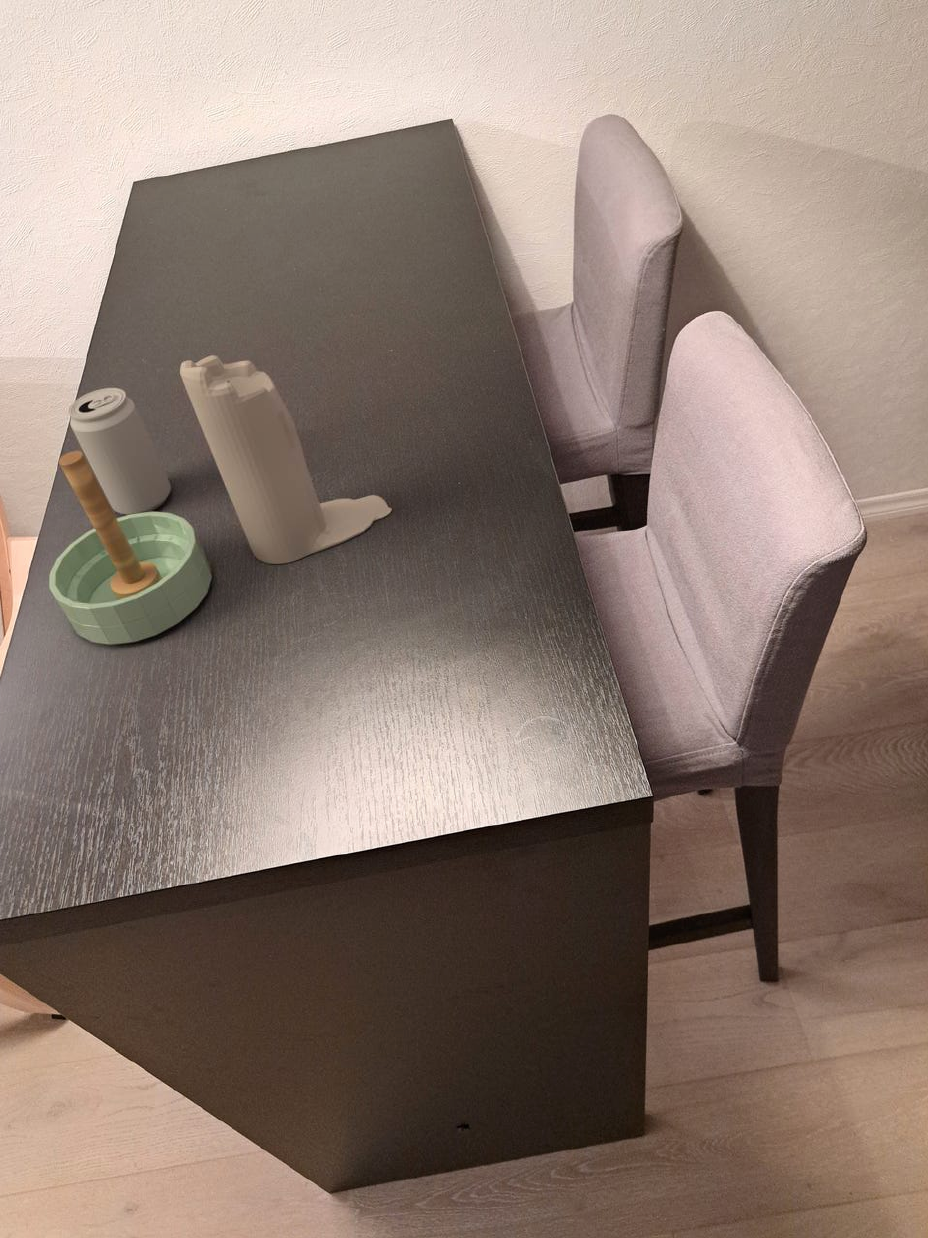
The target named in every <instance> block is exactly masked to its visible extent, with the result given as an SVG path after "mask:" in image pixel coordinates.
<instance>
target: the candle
mask: <svg viewBox="0 0 928 1238" xmlns="http://www.w3.org/2000/svg"><path fill="white" fill-rule="evenodd" d="M179 374H180V378H181V380H182V383H183V385H184V387H185V390H186V392H187V395H188V397H189V400H190V403H191V405H192V407H193V409H194V412H195V415H196V418H197V419H198V420H197V421H198V422H199V425H200V427H201V429H202V432H203V435H204V437H205V439H206V442H207V444H208V446H209V449H210V452H211V454H212V456H213V459H214V461H215V464H216V466H217V470H218V471H219V474H220V476H221V478H222V481H223V483H224V486H225V488H226V491H227V493H228V496H229V498H230V501H231V503H232V505H233V508H234V510H235V513H236V516H237V518H238V520H239V522H240V523H239V524H240V525H241V527H242V530H243V532H244V535H245V538H246V539H247V543H248V544H249V547H250V550H251V552H252V554H253V557H255V558H256V559H257V560H259V561H260V562H262V563H266V564H271V565H281V564H289V563H292V562H295V561H298V560H300V559H304V558H305V557H308V556H309V555H310V556H311V555H312V554H315V553H318V552H321V551H323V550H326V549H328V548H331V547H334V546H336V545H340V544H341V543H344V542H346V541H348V540H350V539H352V538H354V537H357V536H358V535H361V534H363V533H365V532H366V531H367V530H368V529H369V528H370V527H371V526H372V525H373V523H374V521H378V520H380V519H383V518H384V517H387V516H388V515H390V513H391V512H392V507H389V506H388V504H387V502H386V501H385V499H383V498H382V497H380V496H378V495H375V494H371V495H367V496H364V497H360V498H357V499H352V498H337V499H333V500H329V501H325V502H321V503H320V502H319V498H318V495H317V492H316V488H315V486H314V483H313V480H312V477H311V474H310V472H309V469H308V465H307V463H306V462H307V461H306V459H305V454H304V449H303V447H302V444H301V440H300V437H299V434H298V431H297V428H296V426H295V423H294V420H293V418H292V415H291V414H290V411H289V410H288V408H287V406H286V404H285V403H284V400H283V399H282V397H281V395H280V394H279V393H280V392H278V389H277V387H276V385H275V383H274V381H273V380H272V378H271V377H270V376H269V375H268V374H267V373H266V372H264V371H260V370H257V368H256V366H255V364H254V363H252V361H250V360H240V361H236V362H232V363H223V362H222V360H221V359H220V357H219V356H218V355H212V354H211V355H209V356H206V357H204V358H202V359H200V360H199V361H197V362H196V363H195V362H194V361H193V360H190V359H187V360H184V361H183V362H181V364H180V369H179Z"/></svg>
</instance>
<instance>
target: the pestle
mask: <svg viewBox="0 0 928 1238" xmlns="http://www.w3.org/2000/svg"><path fill="white" fill-rule="evenodd" d="M58 464H59V465H60V467H61V469H62V471H63V473H64V475H65V476H66V478H67V481H68V482H69V484H70V486H71V488H72V490H73V491H74V494H75V495H76V497H77V499H78V500H79V502H80V504H81V507H82V508H83V510H84V512H85V514H86V516H87V517H88V519H89V521H90V523H91V525H92V527H93V529H94V528H95V530H96V532H97V534H98V536H99V538H100V540H101V541H102V543H103V545H104V547H105V549H106V551H107V553H108V554H109V556H110V558H111V560H112V562H113V564H114V565H115V567H116V569H117V571H118V572H117V573H116V574H115V575H114V576H113V578H112V580H111V583H110V586H111V589H112V591H113V593H114V594H115V596H116V598H117V600H120V599H123V598H126V597H129V596H132V595H135V594H138V593H140V592H141V591H143V590H145V589H147V588H149V587H151V586H153V585H155V584H157V583H158V582H159V581H160V580H162V577H161V575H160V573H159V571H158V569H157V567H156V566H155V565H154V564H153V563H150V562H139V561H138V559H137V557H136V556H135V554H134V552H133V550H132V548H131V546H130V544H129V542H128V540H127V538H126V536H125V534H124V532H123V530H122V528H121V526H120V525H119V523H118V521H117V517H116V515H115V513H114V510H113V508H112V506H111V504H110V502H109V500H108V498H107V496H106V494H105V493H104V491H103V489H102V487H101V485H100V483H99V481H98V479H97V477H96V475H95V473H94V471H93V469H92V467H91V465H90V463H89V461H88V460H87V458H86V456H85V454H84V452H83V451H80V450H74V451H69V452H67V453H65V454H63V455H62V456H60V458H59V460H58Z"/></svg>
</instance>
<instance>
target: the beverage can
mask: <svg viewBox="0 0 928 1238" xmlns="http://www.w3.org/2000/svg"><path fill="white" fill-rule="evenodd" d="M68 414H69V416H70V422H69V423H70V424H69V425H70V428H71V430H72V431H73V433H74V435H75V437H76V439H77V441H78V444H79V445H80V448H81V449H82V452H83V454H84V456H85V458H86V460H87V462H88V464H89V466H90V468H91V470H92V472H93V474H94V476H95V478H96V480H97V482H98V484H99V486H100V488H101V490H102V492H103V493H104V495H105V497H106V499H107V501H108V503H109V505H110V507H111V509H112V510H113V511H115V512H116V513H118V514H121V515H125V516H127V515H130V514H137V513H145V512H154V510H156V509H158V508H159V507H161V506H162V505H163V504H164V503H165V502H166V501H167V498H168V497H169V495H170V494H171V491H172V485H171V483H170V480H169V478H168V475H167V473H166V472H165V469H164V466H163V465H162V462H161V460H160V458H159V456H158V454H157V452H156V449H155V447H154V444H153V442H152V440H151V438H150V435H149V433H148V431H147V429H146V427H145V424H144V422H143V419H142V418H141V415H140V413H139V410H138V409H137V406H136V404H135V402H134V401H133V400H132V399H131V398H129V397H128V396H127V394H126V391H124V390H123V389H122V388H119V387H118V388H117V387H106V388H101V389H96V390H93V391H91V392H88V393H86V394H84V395H82V396H80V397H78V398H77V399H76V400H75V401H73V403H71V405H70V406H69V408H68Z"/></svg>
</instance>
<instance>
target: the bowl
mask: <svg viewBox="0 0 928 1238" xmlns="http://www.w3.org/2000/svg"><path fill="white" fill-rule="evenodd" d="M116 519H117V521H118V523H119V525H120V526H121V528H122V530H123V532H124V534H125V536H126V538H127V540H128V542H129V544H130V546H131V548H132V550H133V552H134V554H135V556H136V557H137V559H138V561H139V562H150V563H153V564H154V565H155V566H156V567H157V569H158V571H159V573H160V575H161V577H162V580H160V581H159V582H158V583H157V584H155V585H153V586H151V587H149V588H147V589H145V590H143V591H141V592H140V593H138V594H135V595H132V596H129V597H126V598H123V599H120V600H117V598H116V596H115V594H114V593H113V591H112V589H111V586H110V583H111V580H112V578H113V576H114V575H115V574H116V573H117V572H118V571H117V569H116V567H115V565H114V564H113V562H112V560H111V558H110V556H109V554H108V553H107V551H106V549H105V547H104V545H103V543H102V541H101V540H100V538H99V536H98V534H97V532H96V530H95V528H94V527H93V528H92V529H90V530H88V531H87V532H85V533H84V534H83V535H81V536H80V537H79V538H77V539H75V540H73V542H71V543H70V544H69V545H68V546H67V547H66V548H65V549H64V551H63V552H62V553H61V554H60V555H59V556H58V557H57V558H56V560H55V562H54V564H53V566H52V568H51V570H50V572H49V578H48V579H49V581H48V589H49V590H50V592H51V593H52V595H53V597H54V599H55V600H56V602H57V603H58V605H59V606H60V608H61V610H62V611H63V613H64V615H65V616H66V618H67V620H68V621H69V623H70V624H71V626H72V628H73V630H74V631H75V632H76V634H77V635H78V636H80V637H81V638H84V639H85V640H87V641H89V642H91V643H94V644H95V643H96V644H103V645H109V646H113V645H122V644H130V643H136V642H139V641H142V640H145V639H148V638H151V637H155V636H157V635H159V634H161V633H163V632H165V631H167V630H168V629H170V628H172V627H174V626H175V625H177V624H179V623H180V622H181V621H182V620H184V619H185V618H186V617H188V615H190V614H191V613H192V612H193V611H195V609H197V608H198V606H199V605H200V604H201V602H202V601H203V599H205V597H206V595H207V594H208V592H209V589H210V586H211V582H212V578H213V575H212V570H211V569H212V568H211V564H210V562H209V560H208V558H207V555H206V553H205V551H204V549H203V547H202V546H203V545H202V544H201V542H200V539H199V537H198V535H197V533H196V531H195V528H194V527H193V526H192V525H191V524H190V523H189V522H188V521H187V520H186V519H185V518H183V517H181V516H179V515H176V514H174V513H171V512H166V511H165V512H164V511H150V512H145V513H137V514H130V515H124V516H120V517H118V518H117V517H116Z"/></svg>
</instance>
